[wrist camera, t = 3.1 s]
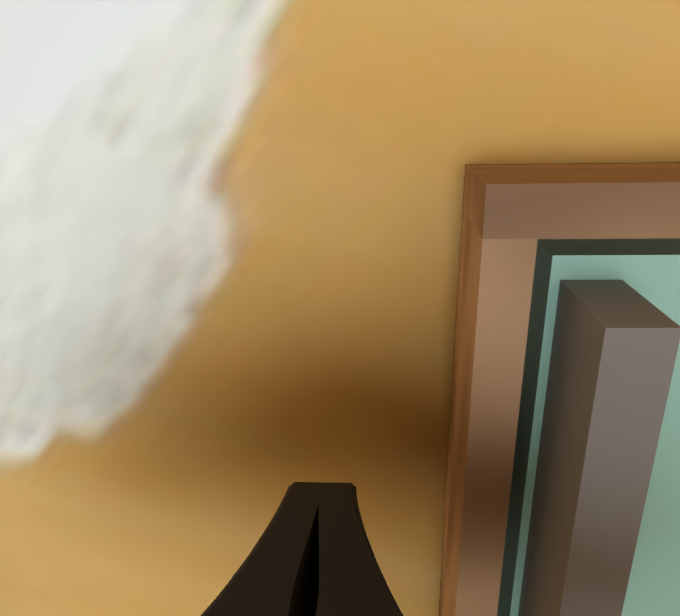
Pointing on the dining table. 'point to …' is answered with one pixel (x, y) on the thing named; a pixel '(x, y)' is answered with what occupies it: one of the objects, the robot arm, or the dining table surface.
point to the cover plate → (598, 435)
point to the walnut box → (518, 333)
